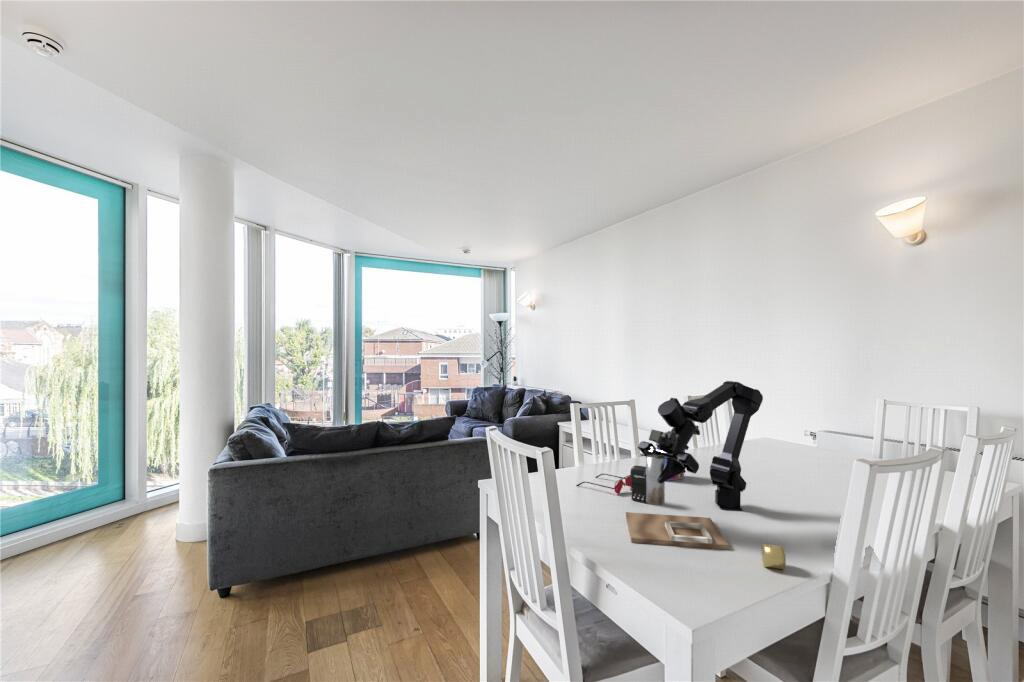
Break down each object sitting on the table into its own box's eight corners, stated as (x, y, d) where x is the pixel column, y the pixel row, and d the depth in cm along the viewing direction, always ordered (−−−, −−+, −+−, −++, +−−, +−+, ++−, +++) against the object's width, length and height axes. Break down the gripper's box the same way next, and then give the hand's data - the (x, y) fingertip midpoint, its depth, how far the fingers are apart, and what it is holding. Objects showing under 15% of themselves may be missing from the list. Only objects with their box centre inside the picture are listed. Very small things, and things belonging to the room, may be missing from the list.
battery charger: (628, 500, 151) (629, 466, 151) (632, 497, 154) (632, 463, 154) (649, 505, 147) (650, 469, 147) (653, 501, 150) (653, 466, 150)
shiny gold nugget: (766, 556, 105) (786, 559, 104) (762, 538, 109) (781, 541, 108) (764, 571, 107) (784, 574, 106) (760, 553, 111) (779, 556, 110)
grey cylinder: (662, 499, 133) (662, 454, 133) (666, 505, 128) (666, 459, 128) (644, 498, 134) (644, 454, 133) (648, 505, 129) (647, 458, 129)
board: (710, 521, 134) (710, 513, 134) (728, 549, 116) (728, 540, 116) (625, 516, 138) (625, 508, 138) (631, 542, 120) (631, 533, 120)
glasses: (617, 497, 155) (617, 482, 155) (575, 486, 166) (575, 473, 166) (635, 487, 166) (635, 473, 166) (595, 478, 177) (595, 465, 177)
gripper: (641, 414, 141) (614, 455, 136) (691, 425, 124) (662, 471, 119) (660, 437, 144) (634, 477, 139) (711, 450, 128) (683, 496, 123)
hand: (651, 480), depth 130 cm, fingers closed on grey cylinder, 5 cm apart
